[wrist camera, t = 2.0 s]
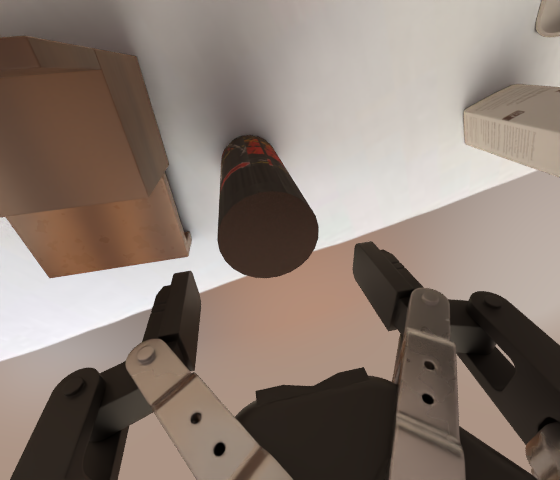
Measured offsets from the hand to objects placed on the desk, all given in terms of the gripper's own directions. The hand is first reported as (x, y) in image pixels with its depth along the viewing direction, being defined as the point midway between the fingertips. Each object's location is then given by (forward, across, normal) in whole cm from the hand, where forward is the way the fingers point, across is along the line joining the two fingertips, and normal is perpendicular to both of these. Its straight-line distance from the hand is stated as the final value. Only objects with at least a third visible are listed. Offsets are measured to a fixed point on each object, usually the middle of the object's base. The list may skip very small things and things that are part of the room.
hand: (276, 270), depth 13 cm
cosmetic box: (+18, -27, -2) cm, 33 cm away
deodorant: (+18, 0, 0) cm, 18 cm away
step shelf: (+18, +15, -1) cm, 23 cm away
